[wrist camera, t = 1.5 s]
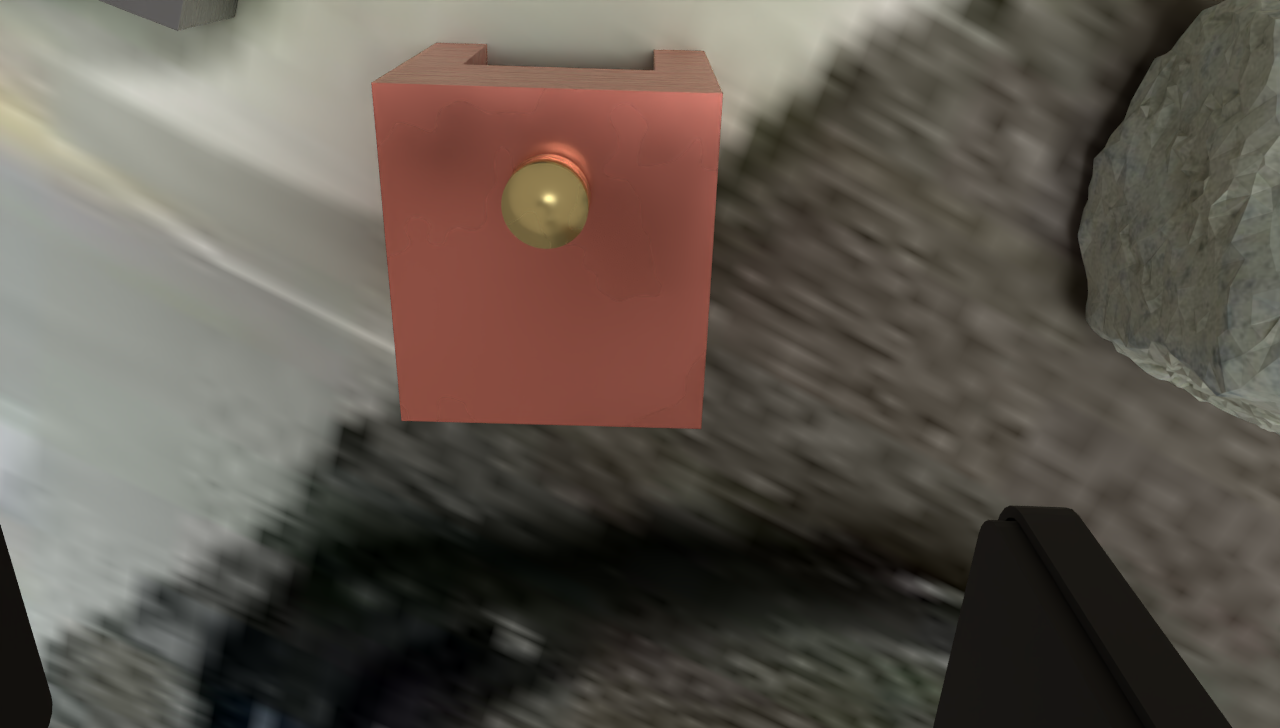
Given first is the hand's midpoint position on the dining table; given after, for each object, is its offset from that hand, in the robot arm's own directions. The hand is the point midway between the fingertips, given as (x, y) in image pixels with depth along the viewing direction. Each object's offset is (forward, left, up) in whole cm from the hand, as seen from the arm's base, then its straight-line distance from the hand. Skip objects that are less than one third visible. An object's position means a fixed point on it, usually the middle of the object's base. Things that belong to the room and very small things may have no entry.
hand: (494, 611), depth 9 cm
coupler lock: (0, 0, -16) cm, 17 cm away
